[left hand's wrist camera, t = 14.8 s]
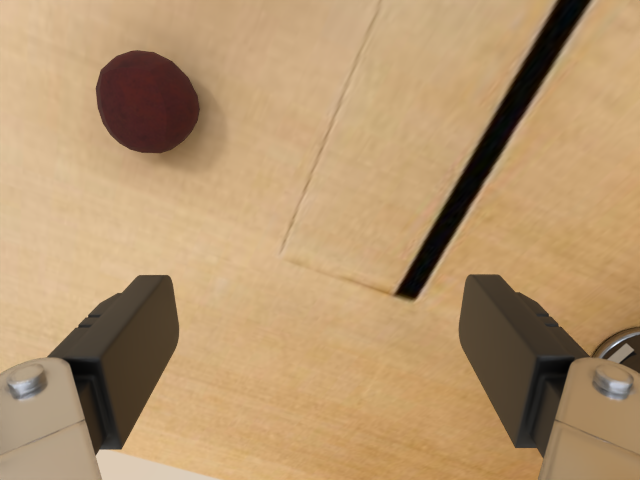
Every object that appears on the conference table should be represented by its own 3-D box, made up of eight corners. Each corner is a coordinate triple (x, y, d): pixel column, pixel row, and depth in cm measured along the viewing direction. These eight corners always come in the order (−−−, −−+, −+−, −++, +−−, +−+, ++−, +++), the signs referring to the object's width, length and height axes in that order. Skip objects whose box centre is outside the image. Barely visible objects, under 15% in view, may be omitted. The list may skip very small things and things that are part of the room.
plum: (137, 150, 37) (97, 165, 30) (111, 58, 34) (61, 53, 28) (216, 141, 37) (193, 154, 30) (196, 47, 34) (167, 39, 27)
